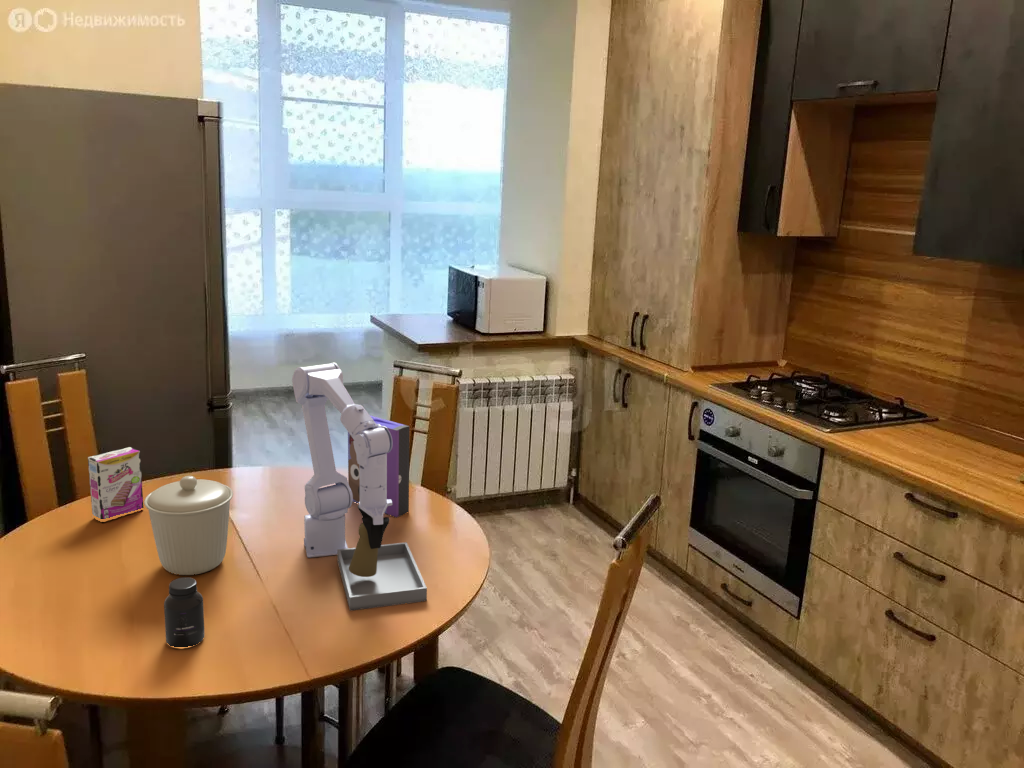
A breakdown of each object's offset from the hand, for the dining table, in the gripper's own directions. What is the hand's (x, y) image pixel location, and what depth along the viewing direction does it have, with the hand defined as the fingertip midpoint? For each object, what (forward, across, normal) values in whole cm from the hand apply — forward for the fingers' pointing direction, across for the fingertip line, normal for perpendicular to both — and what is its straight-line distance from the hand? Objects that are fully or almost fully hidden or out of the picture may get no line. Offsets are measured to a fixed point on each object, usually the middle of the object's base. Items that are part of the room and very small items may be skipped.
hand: (373, 541), depth 175 cm
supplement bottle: (+10, -14, +37) cm, 41 cm away
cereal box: (+10, +40, -7) cm, 42 cm away
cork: (+7, 0, +2) cm, 7 cm away
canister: (+10, +17, +38) cm, 42 cm away
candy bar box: (+10, +49, +57) cm, 75 cm away
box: (+9, 0, -2) cm, 10 cm away
